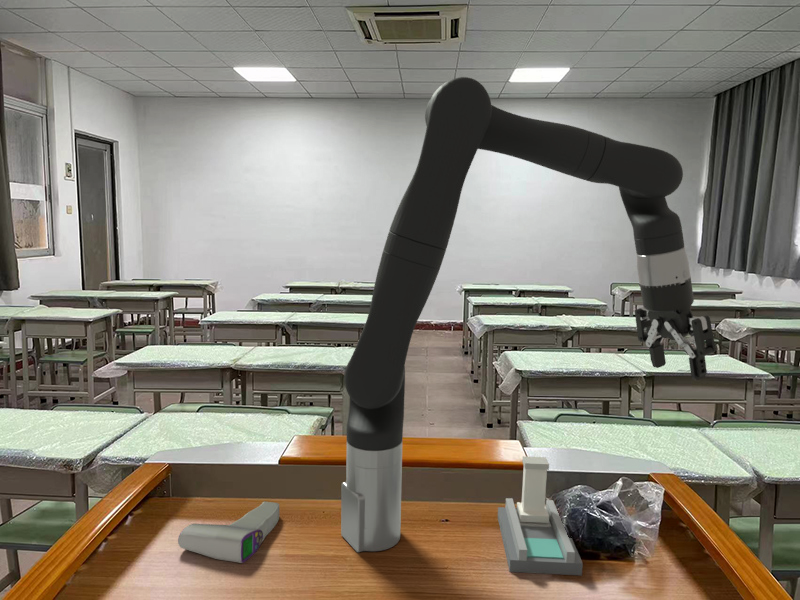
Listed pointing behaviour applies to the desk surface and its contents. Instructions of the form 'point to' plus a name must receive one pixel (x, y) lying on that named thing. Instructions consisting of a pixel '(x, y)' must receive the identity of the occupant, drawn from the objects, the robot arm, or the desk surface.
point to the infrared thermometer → (232, 535)
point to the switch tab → (534, 490)
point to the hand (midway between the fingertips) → (678, 372)
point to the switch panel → (537, 543)
